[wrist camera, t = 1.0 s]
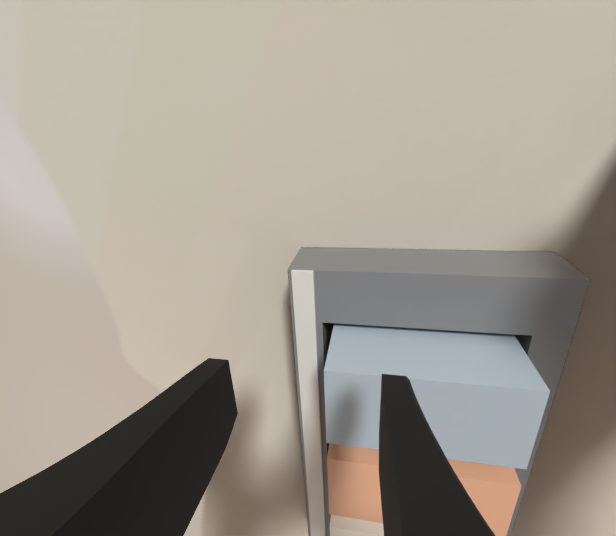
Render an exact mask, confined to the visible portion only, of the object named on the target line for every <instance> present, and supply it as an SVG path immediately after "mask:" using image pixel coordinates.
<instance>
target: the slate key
mask: <svg viewBox="0 0 616 536" xmlns="http://www.w3.org/2000/svg"><path fill="white" fill-rule="evenodd" d="M382 374H390V375H401V376H406V377H407V378H408V379H409V380H410V382H411V385H412V388H413V391H414V393H415V396H416V398H417V401H418V403H419V405H420V407H421V409H422V412H423V414H424V416H425V418H426V420H427V422H428V424H429V426H430V428H431V430H432V432H433V434H434V436H435V438H436V439H437V441H438V443H439V445H440V447H441V449H442V451H443V452H444V454H445V456H446V458H447V459H452V460H459V461H467V462H474V463H482V464H489V465H497V466H504V467H512V468H520V469H527V466H528V463H529V460H530V456H531V453H532V450H533V446H534V443H535V440H536V437H537V433H538V430H539V427H540V423H541V420H542V417H543V414H544V410H545V407H546V404H547V400H548V397H549V394H550V390H549V389H548V387H547V385H546V384H545V382H544V381H543V379H542V378H541V376H540V374H539V373H538V371H537V370H536V368H535V367H534V365H533V363H532V362H531V360H530V359H529V357H528V356H527V354H526V353H525V351H524V349H523V348H522V346H521V345H520V343H519V342H518V340H517V338H516V337H515V335H514V334H498V333H482V332H466V331H450V330H434V329H418V328H402V327H386V326H370V325H354V324H338V323H334V326H333V331H332V335H331V340H330V344H329V349H328V354H327V358H326V363H325V367H324V391H325V418H326V443H331V444H339V445H346V446H354V447H361V448H369V449H376V450H379V422H380V401H381V380H382Z"/></svg>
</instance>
